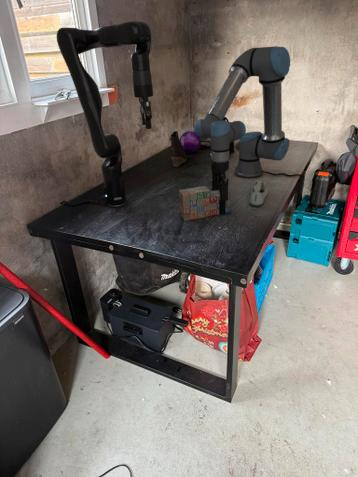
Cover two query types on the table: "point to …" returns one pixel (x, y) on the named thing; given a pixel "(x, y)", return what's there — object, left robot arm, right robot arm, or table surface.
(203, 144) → the pair of gloves
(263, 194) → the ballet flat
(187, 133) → the decorative orb
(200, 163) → the table surface
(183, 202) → the stack of blocks
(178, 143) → the boot
